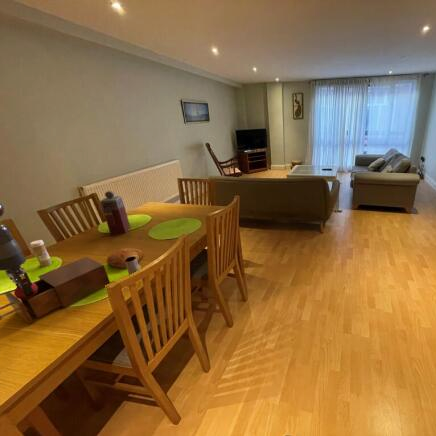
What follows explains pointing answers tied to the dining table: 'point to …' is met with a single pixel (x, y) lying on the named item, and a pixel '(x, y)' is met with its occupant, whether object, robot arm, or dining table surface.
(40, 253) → the sprinkles bottle
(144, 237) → the dining table surface
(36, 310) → the drawer
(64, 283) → the cabinet
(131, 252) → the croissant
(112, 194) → the maroon canister
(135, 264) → the planter
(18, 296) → the onion
